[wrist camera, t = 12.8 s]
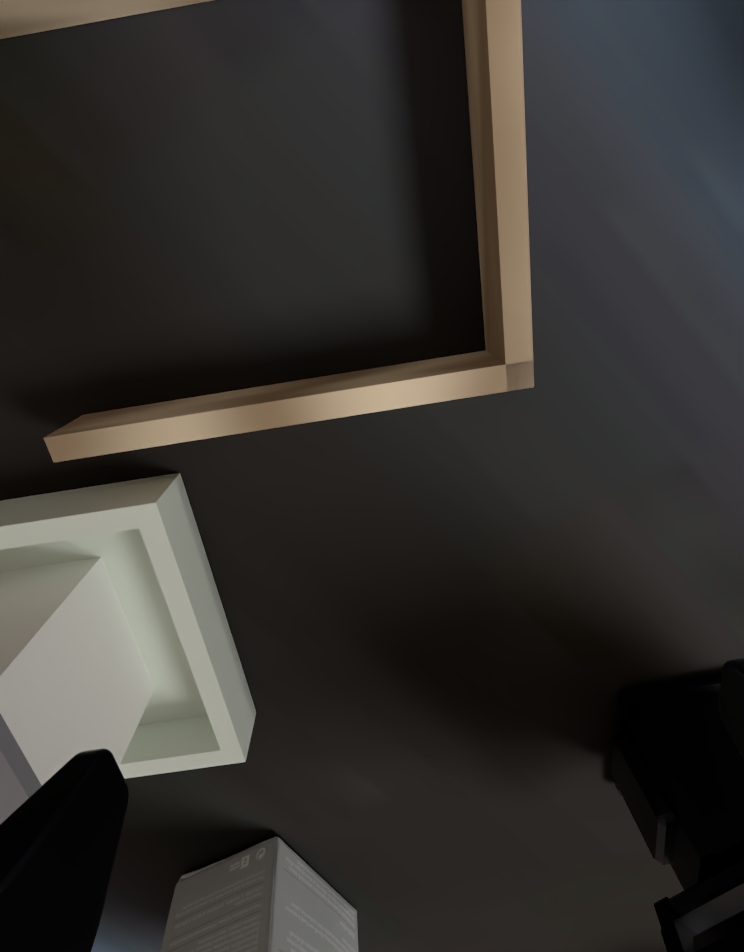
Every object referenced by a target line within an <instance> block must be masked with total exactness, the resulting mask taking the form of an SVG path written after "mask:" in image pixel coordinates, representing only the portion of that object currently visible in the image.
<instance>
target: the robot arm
mask: <svg viewBox="0 0 744 952" xmlns="http://www.w3.org/2000/svg"><path fill="white" fill-rule="evenodd" d="M611 773H612V776H613V778H614V780H615V786H616V788H617V790H618V792H619V794H620V795H621V796H623V798H624V800H625V802H626V804H627V806H628V808H629V810H630V812H631V814H632V816H633V818H634V820H635V822H636V824H637V826H638V828H639V830H640V832H641V834H642V836H643V838H644V840H645V842H646V844H647V846H648V848H649V850H650V852H651V854H652V856H653V858H654V859H655V860H656V861H657V862H658V863H660V864H661V865H666V864H671V866H672V868H673V870H674V872H675V874H676V876H677V878H678V880H679V882H680V883H681V885H682V887H683V889H684V891H682V892H681V893H679V894H677V895H675V896H673V897H672V898H670V899H669V898H668V897H665V898H663V899H661V900H659V901H658V902H656V903H654V907H655V910H656V913H657V916H658V919H659V922H660V925H661V928H662V929H661V934H662V937H663V940H664V943H665V946H666V949H667V952H744V659H737V660H730V661H727V662H726V663H725V664H724V666H723V669H722V675H720V676H713V677H706V678H699V679H692V680H685V681H677V682H670V683H663V684H656V685H649V686H642V687H634V688H628V689H625V690H624V691H622V692H621V693H620V694H619V696H618V710H617V732H615V734H614V736H613V739H612V770H611ZM127 804H128V786H127V783H126V781H125V779H124V777H123V775H122V773H121V771H120V768H119V766H118V764H117V762H116V760H115V758H114V756H113V754H112V752H111V751H109V750H108V749H104V748H102V749H95V750H88V751H82V752H80V753H78V754H76V755H75V756H74V757H72V758H71V759H70V760H69V761H68V762H67V763H66V764H65V765H64V766H63V767H62V768H61V769H59V770H58V771H57V772H56V773H55V774H54V775H53V776H52V777H51V778H50V779H49V780H48V781H46V782H45V783H44V784H43V785H42V786H41V787H40V788H39V789H38V790H37V791H36V792H35V793H34V794H32V795H31V796H30V797H29V798H28V799H27V800H26V801H25V802H24V803H23V804H22V805H21V806H19V807H18V808H17V809H16V810H15V811H14V812H13V813H12V814H11V815H10V816H9V817H8V818H7V819H5V820H4V821H3V822H2V823H1V824H0V952H91V949H92V946H93V943H94V940H95V936H96V933H97V930H98V927H99V923H100V919H101V915H102V912H103V908H104V904H105V900H106V895H107V891H108V887H109V882H110V878H111V874H112V869H113V865H114V861H115V856H116V852H117V848H118V843H119V839H120V835H121V830H122V826H123V822H124V817H125V813H126V809H127Z"/></svg>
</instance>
